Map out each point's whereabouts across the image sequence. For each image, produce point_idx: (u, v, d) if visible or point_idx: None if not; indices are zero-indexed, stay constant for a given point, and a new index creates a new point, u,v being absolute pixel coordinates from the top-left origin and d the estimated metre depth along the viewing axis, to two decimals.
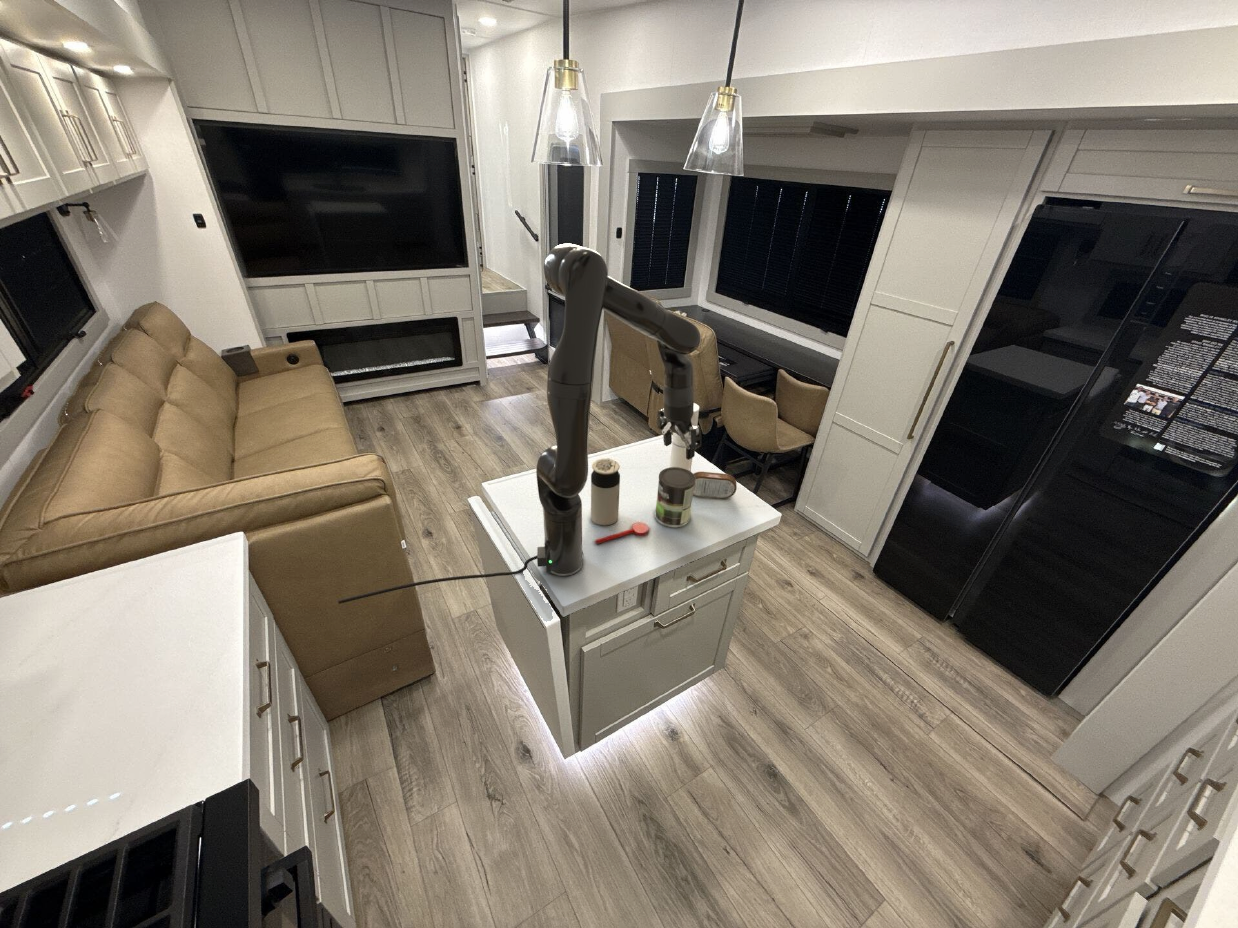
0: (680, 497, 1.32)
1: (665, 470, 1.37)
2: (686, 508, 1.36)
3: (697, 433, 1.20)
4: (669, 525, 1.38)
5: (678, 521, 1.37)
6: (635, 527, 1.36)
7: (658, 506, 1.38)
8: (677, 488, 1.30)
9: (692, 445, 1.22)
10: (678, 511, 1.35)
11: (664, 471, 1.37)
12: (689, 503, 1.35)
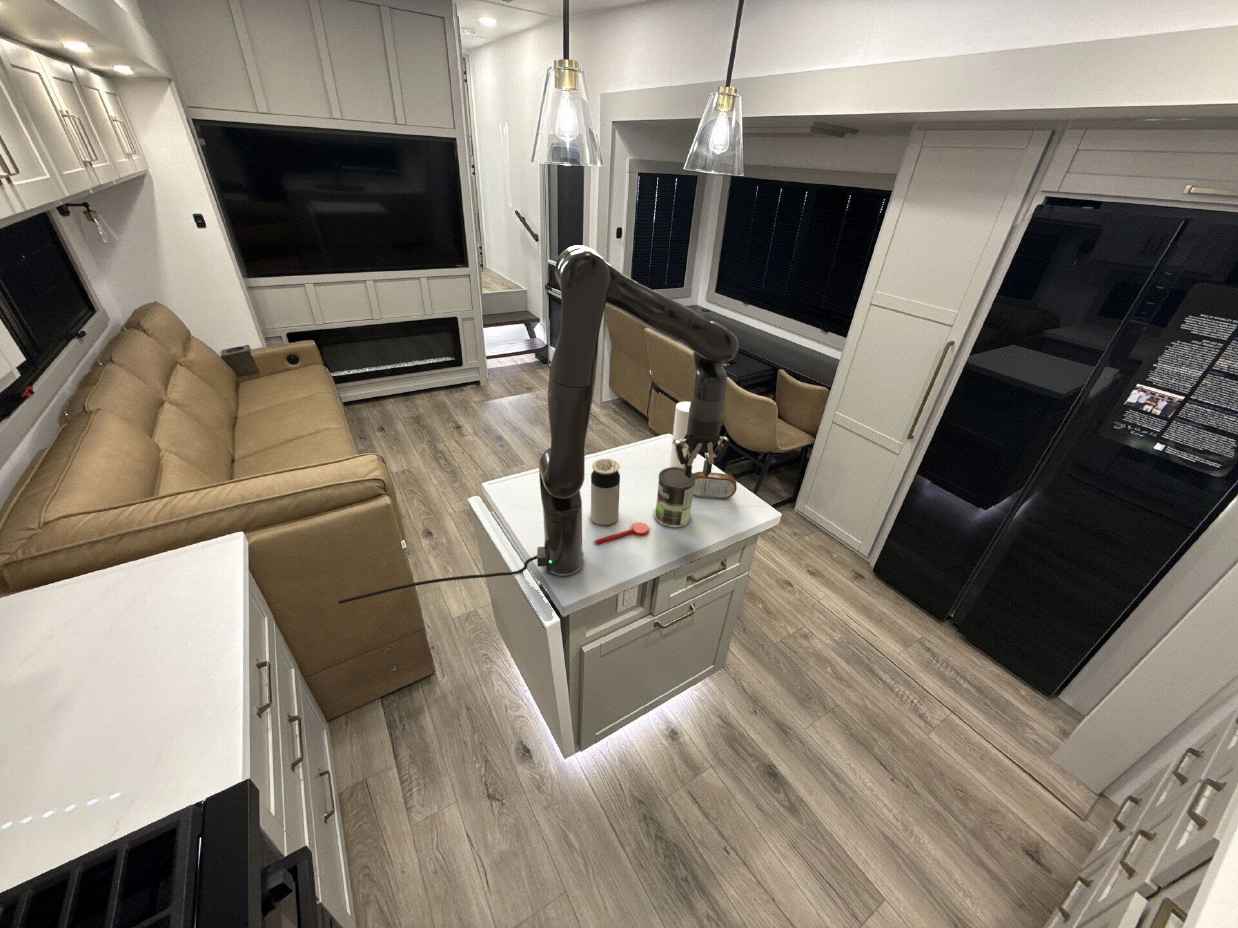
0: (680, 497, 1.32)
1: (665, 470, 1.37)
2: (686, 508, 1.36)
3: None
4: (669, 525, 1.38)
5: (678, 521, 1.37)
6: (635, 527, 1.36)
7: (658, 506, 1.38)
8: (677, 488, 1.30)
9: (719, 457, 1.16)
10: (678, 511, 1.35)
11: (664, 471, 1.37)
12: (689, 503, 1.35)
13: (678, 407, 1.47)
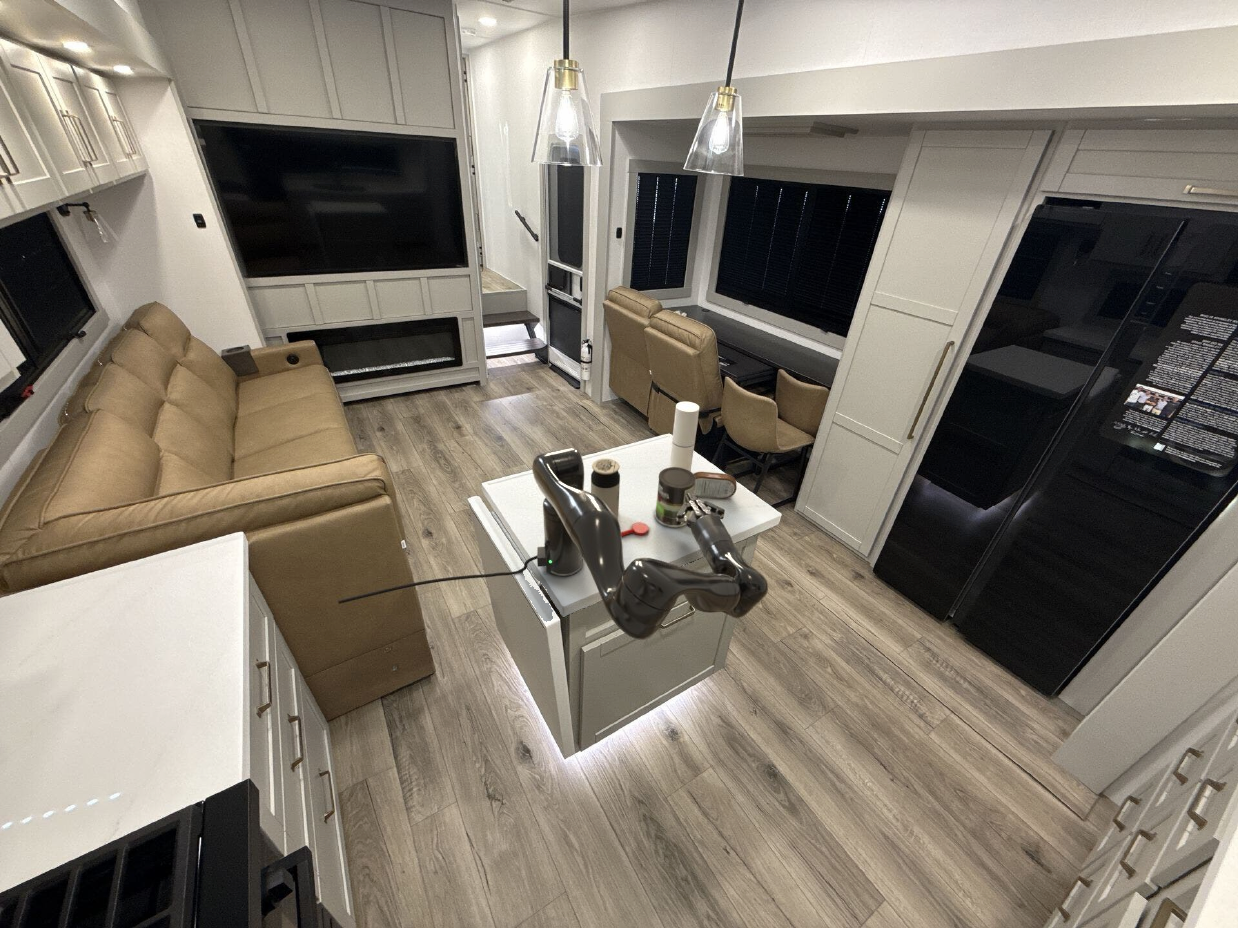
0: (680, 497, 1.32)
1: (665, 470, 1.37)
2: None
3: None
4: (669, 525, 1.38)
5: None
6: (635, 527, 1.36)
7: (658, 506, 1.38)
8: (677, 488, 1.30)
9: None
10: None
11: (664, 471, 1.37)
12: None
13: (678, 407, 1.47)
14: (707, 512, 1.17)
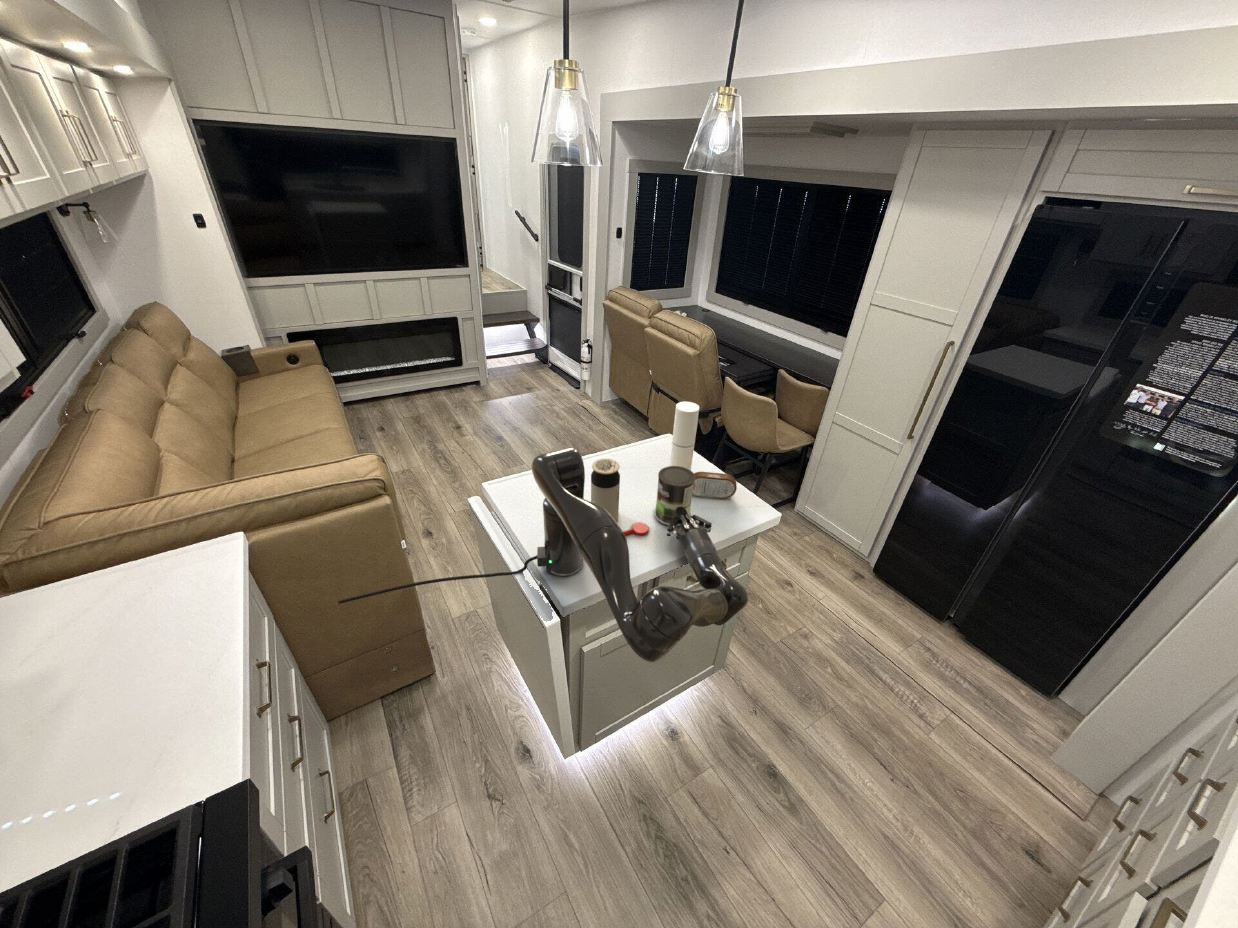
0: (680, 495, 1.32)
1: (664, 469, 1.38)
2: (686, 507, 1.36)
3: None
4: None
5: None
6: (635, 527, 1.36)
7: (658, 505, 1.38)
8: (677, 486, 1.31)
9: None
10: None
11: (663, 470, 1.37)
12: (689, 501, 1.36)
13: (678, 407, 1.47)
14: (695, 526, 1.26)
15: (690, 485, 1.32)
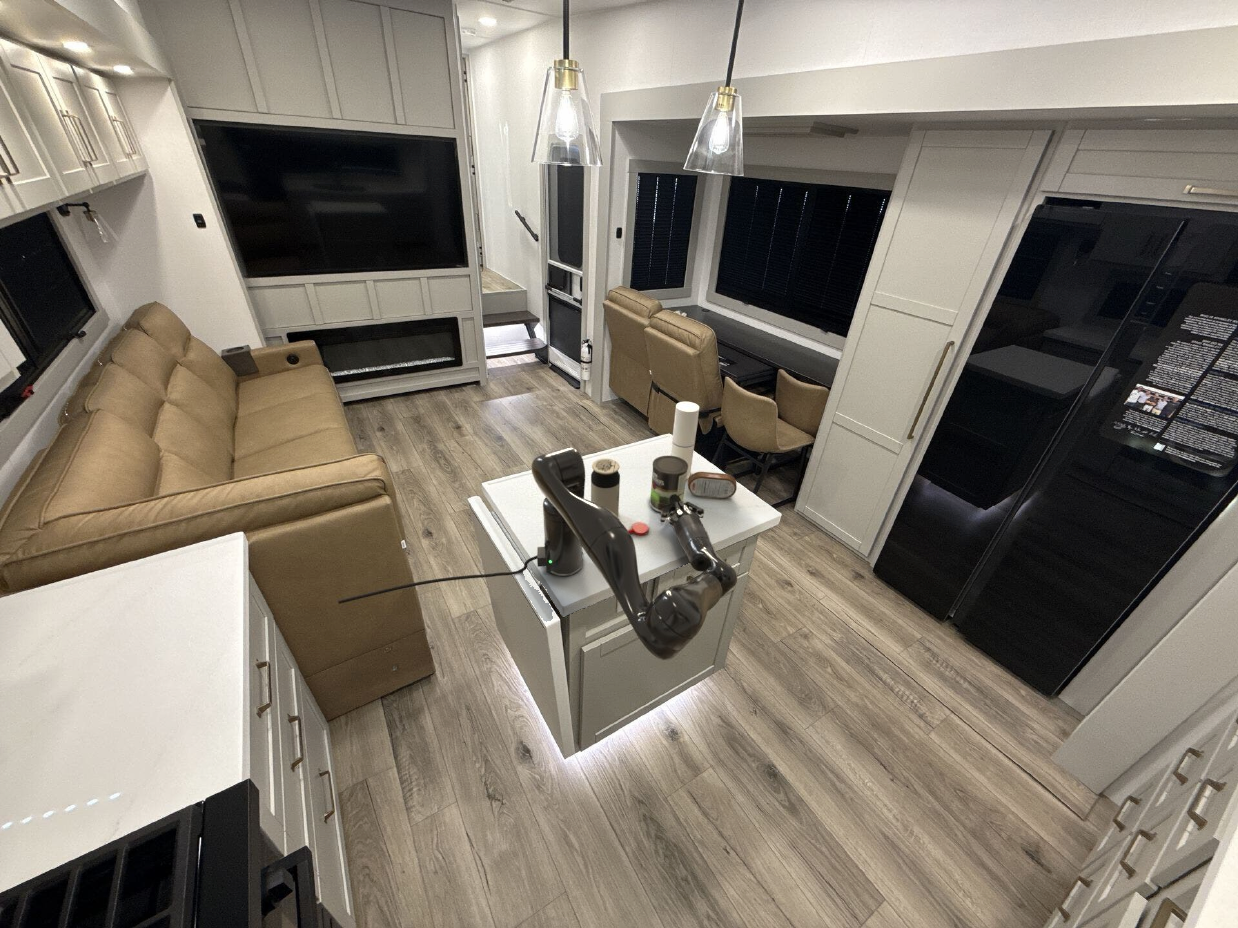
0: (675, 483, 1.37)
1: (658, 458, 1.42)
2: (681, 494, 1.41)
3: None
4: None
5: None
6: (635, 527, 1.36)
7: (653, 494, 1.42)
8: (672, 474, 1.35)
9: None
10: None
11: (657, 459, 1.42)
12: (683, 489, 1.41)
13: (678, 407, 1.47)
14: (688, 512, 1.31)
15: (684, 473, 1.37)
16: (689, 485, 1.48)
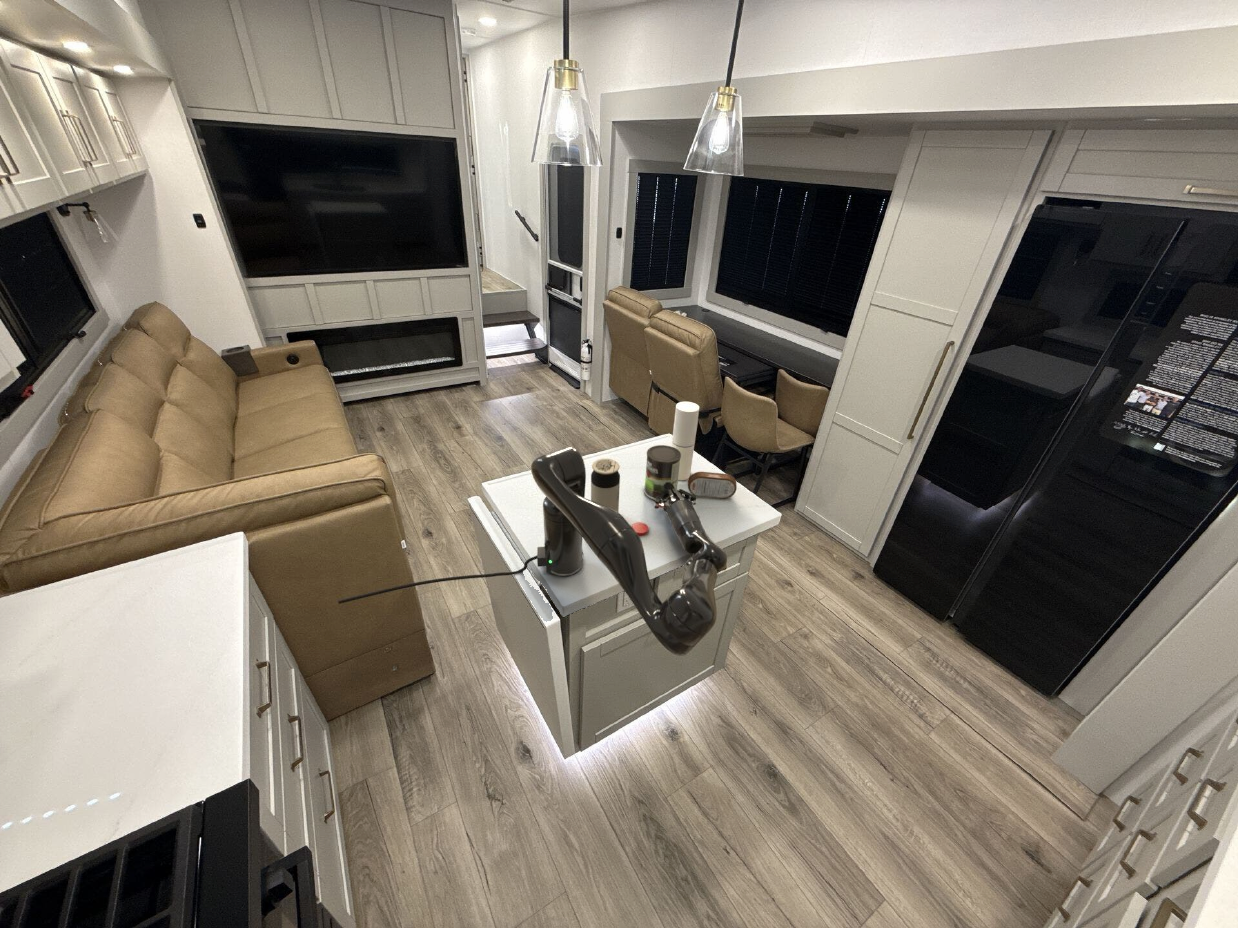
0: (668, 471, 1.42)
1: (652, 448, 1.47)
2: (674, 482, 1.46)
3: None
4: None
5: None
6: (635, 527, 1.36)
7: (647, 482, 1.47)
8: (665, 462, 1.40)
9: None
10: None
11: (651, 449, 1.47)
12: (676, 477, 1.46)
13: (678, 407, 1.47)
14: (681, 498, 1.36)
15: (677, 461, 1.42)
16: (689, 485, 1.48)
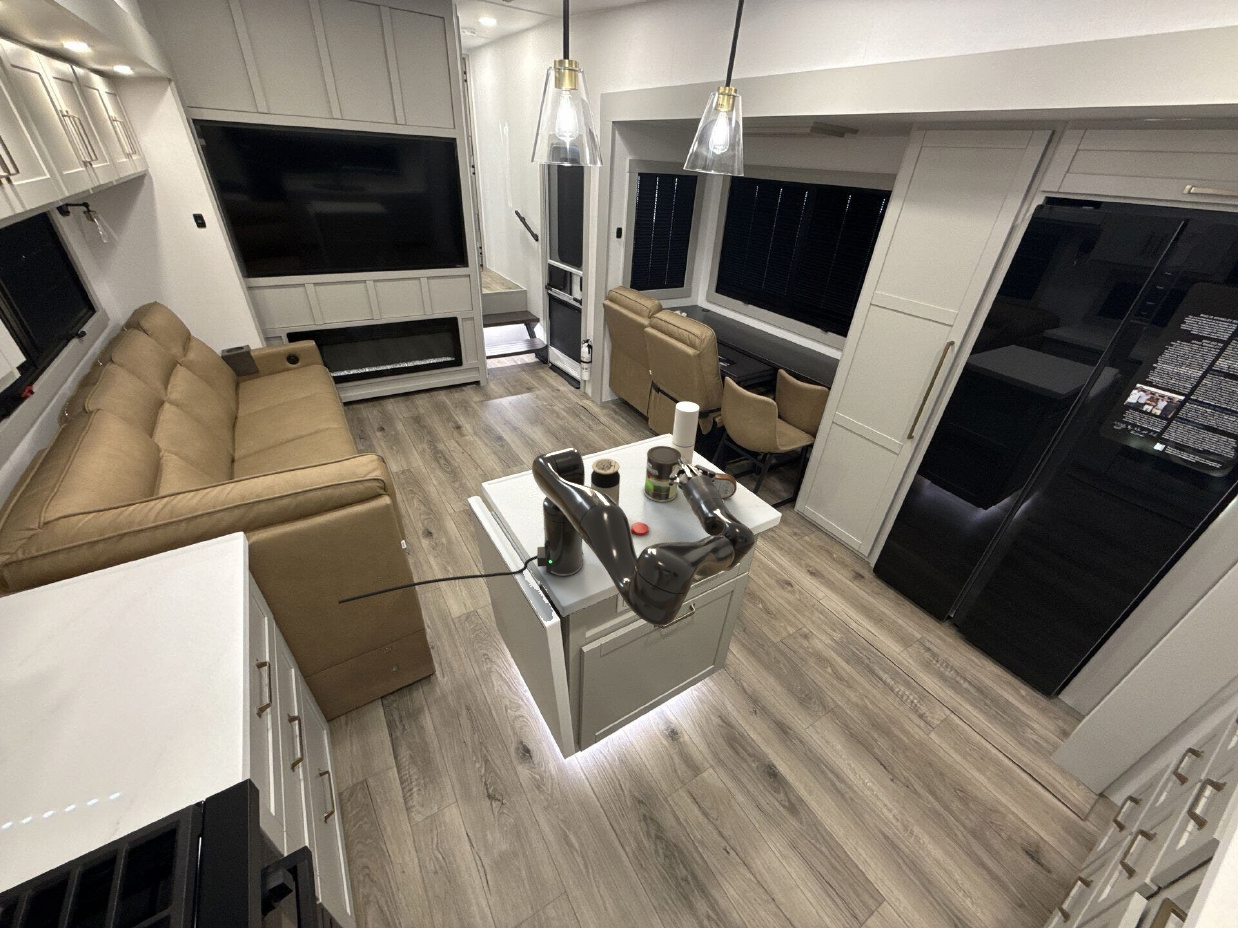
0: (668, 472, 1.42)
1: (652, 449, 1.47)
2: None
3: None
4: (658, 500, 1.48)
5: (667, 496, 1.47)
6: (635, 527, 1.36)
7: (647, 483, 1.47)
8: (666, 464, 1.40)
9: None
10: (667, 486, 1.45)
11: (651, 450, 1.46)
12: None
13: (678, 407, 1.47)
14: (698, 474, 1.20)
15: (677, 463, 1.42)
16: None
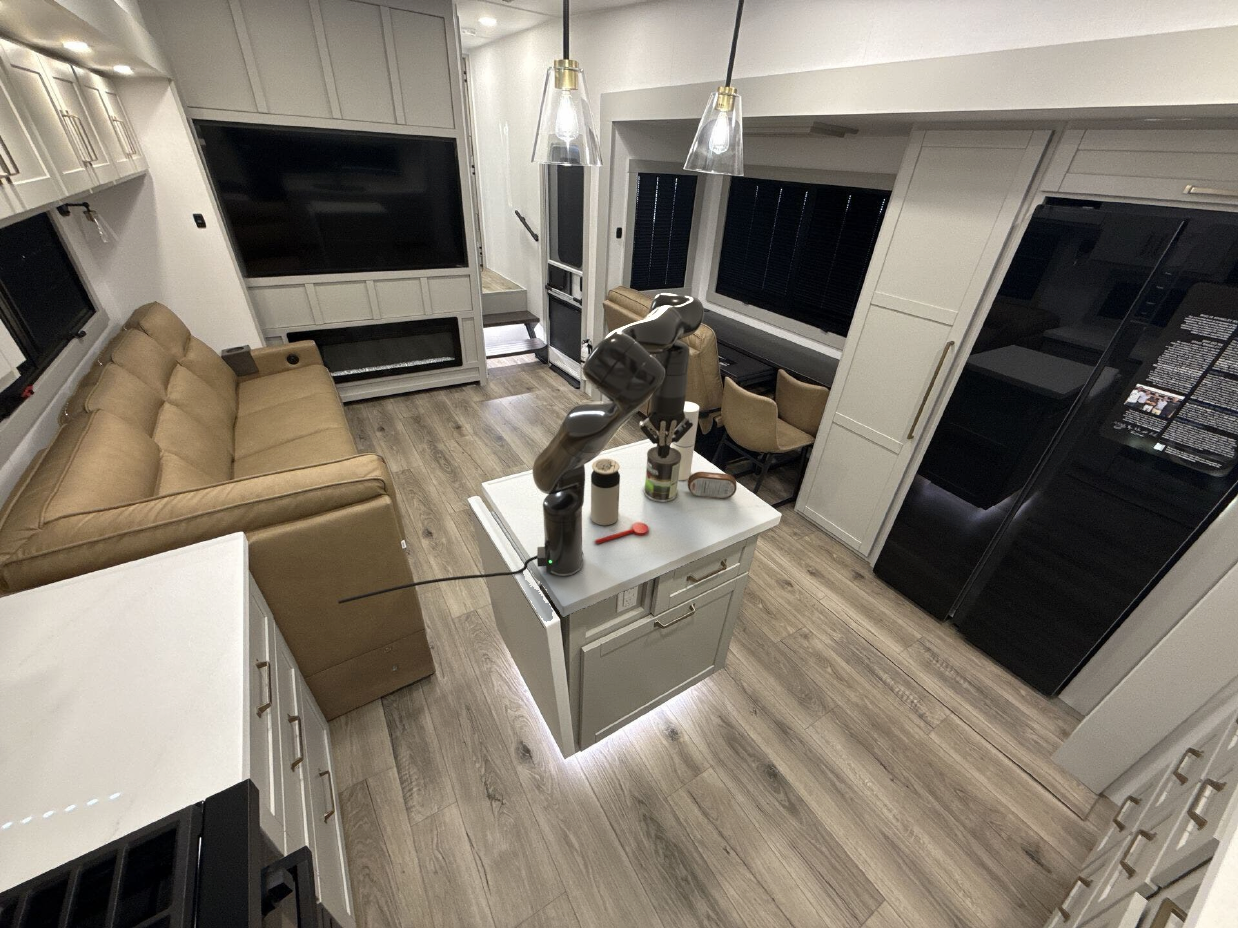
0: (668, 472, 1.42)
1: (652, 449, 1.47)
2: (674, 483, 1.46)
3: None
4: (658, 500, 1.48)
5: (667, 496, 1.47)
6: (635, 527, 1.36)
7: (647, 483, 1.47)
8: (666, 464, 1.40)
9: (677, 437, 1.11)
10: (667, 486, 1.45)
11: (651, 450, 1.46)
12: (676, 478, 1.46)
13: None
14: None
15: (677, 463, 1.42)
16: (689, 485, 1.48)
